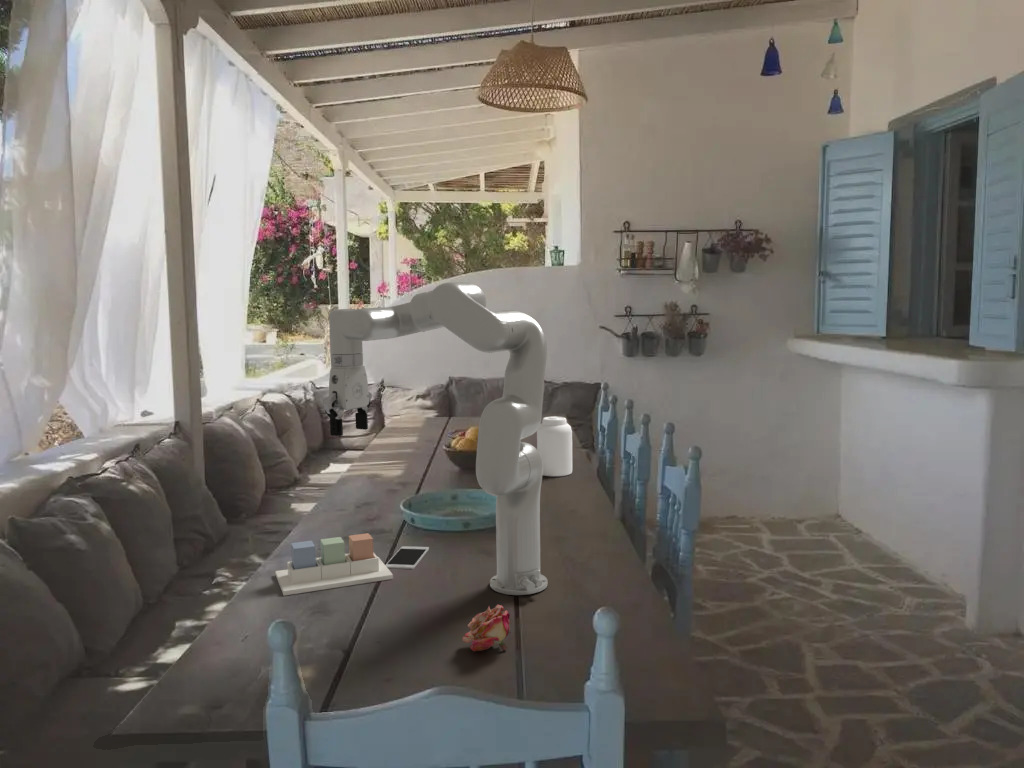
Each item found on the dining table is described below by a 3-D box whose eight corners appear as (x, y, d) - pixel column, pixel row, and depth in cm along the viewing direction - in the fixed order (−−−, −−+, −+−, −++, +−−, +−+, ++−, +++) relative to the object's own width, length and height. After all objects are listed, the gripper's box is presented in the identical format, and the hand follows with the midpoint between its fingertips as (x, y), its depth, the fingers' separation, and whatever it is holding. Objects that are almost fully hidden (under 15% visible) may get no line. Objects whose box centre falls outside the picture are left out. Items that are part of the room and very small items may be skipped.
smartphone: (429, 550, 205) (429, 546, 205) (413, 570, 190) (413, 566, 190) (402, 549, 206) (401, 545, 206) (383, 569, 191) (383, 566, 191)
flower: (523, 629, 150) (498, 594, 151) (526, 640, 141) (499, 603, 142) (481, 661, 150) (456, 626, 150) (481, 674, 140) (454, 636, 141)
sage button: (345, 563, 183) (344, 542, 183) (324, 566, 182) (323, 545, 181) (341, 557, 188) (340, 536, 187) (321, 560, 186) (320, 539, 185)
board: (393, 578, 183) (392, 561, 183) (283, 595, 174) (282, 577, 174) (378, 560, 196) (377, 544, 196) (275, 575, 187) (274, 558, 186)
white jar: (531, 471, 291) (530, 416, 289) (562, 468, 297) (561, 413, 294) (547, 478, 280) (546, 421, 278) (578, 474, 285) (578, 418, 283)
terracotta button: (373, 559, 186) (372, 538, 185) (353, 562, 184) (352, 541, 184) (369, 553, 190) (368, 533, 190) (349, 556, 188) (348, 535, 188)
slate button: (316, 567, 181) (315, 546, 180) (295, 570, 179) (293, 548, 179) (312, 561, 185) (311, 540, 185) (292, 564, 183) (291, 543, 183)
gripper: (336, 364, 183) (339, 439, 185) (381, 358, 199) (383, 427, 201) (310, 363, 187) (313, 437, 189) (356, 358, 202) (358, 426, 204)
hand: (349, 432), depth 195 cm, fingers open, 9 cm apart
